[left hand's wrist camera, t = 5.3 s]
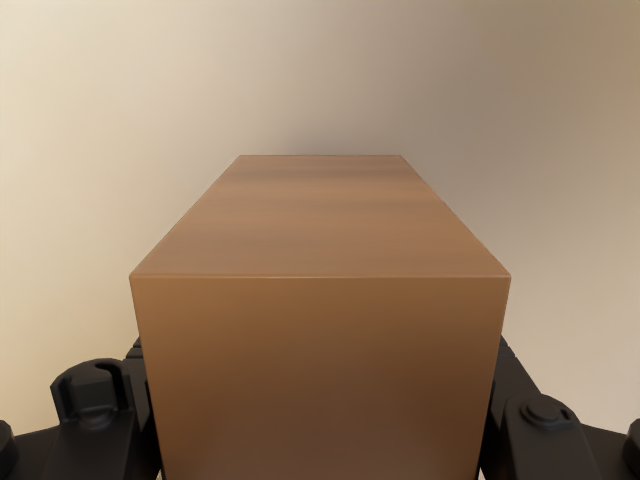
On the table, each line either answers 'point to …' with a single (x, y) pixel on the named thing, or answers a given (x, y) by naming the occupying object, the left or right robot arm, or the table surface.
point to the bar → (320, 326)
